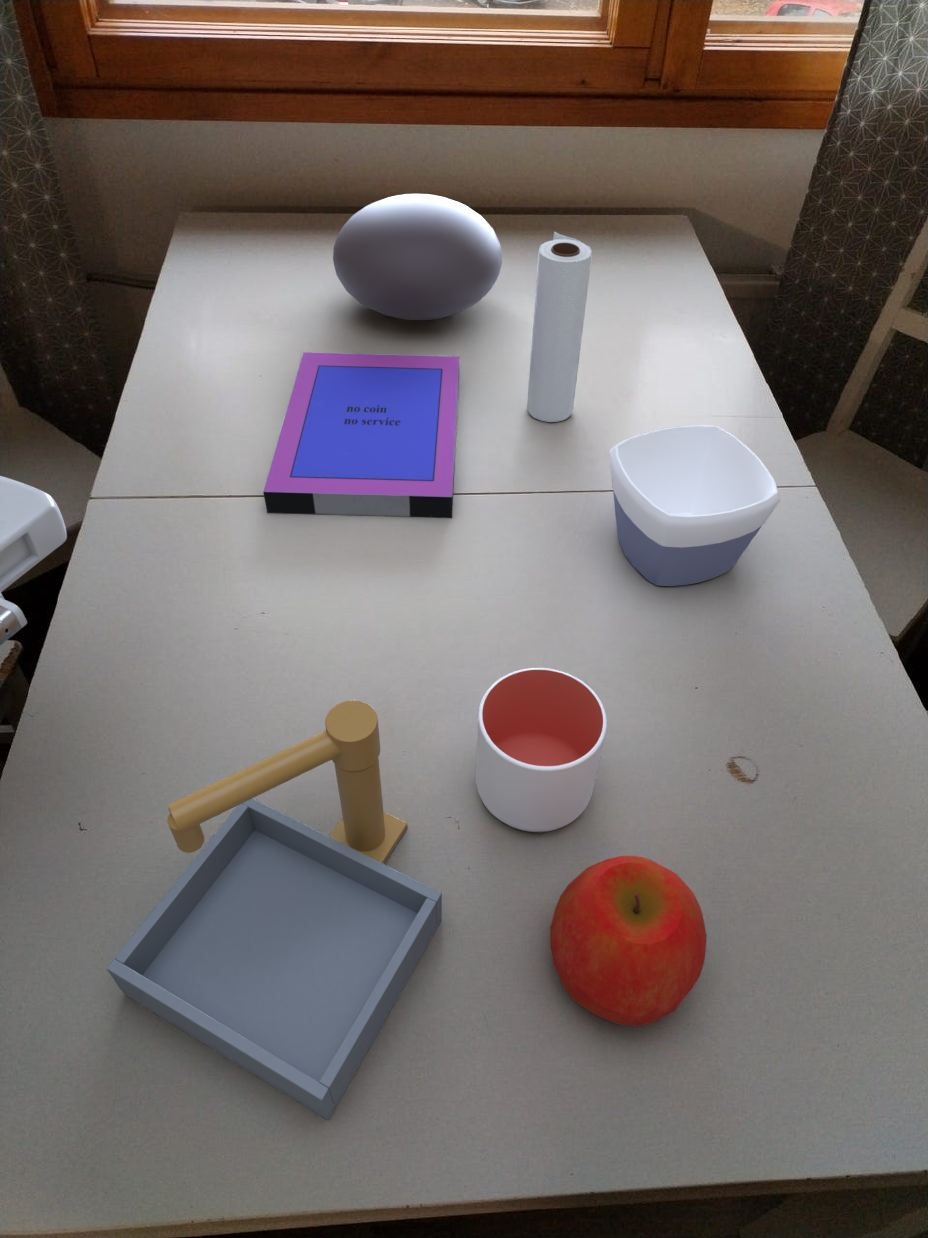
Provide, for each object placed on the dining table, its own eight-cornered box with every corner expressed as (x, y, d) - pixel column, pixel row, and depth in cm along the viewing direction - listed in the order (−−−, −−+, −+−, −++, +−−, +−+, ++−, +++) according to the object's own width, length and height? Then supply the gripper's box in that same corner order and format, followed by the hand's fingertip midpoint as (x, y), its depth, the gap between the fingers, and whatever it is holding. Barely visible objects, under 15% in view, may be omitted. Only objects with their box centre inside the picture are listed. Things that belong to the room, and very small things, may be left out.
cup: (609, 767, 78) (625, 695, 71) (563, 858, 72) (577, 790, 65) (506, 723, 81) (512, 650, 74) (454, 807, 75) (455, 737, 68)
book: (263, 491, 99) (303, 351, 120) (267, 512, 101) (305, 371, 122) (452, 497, 99) (459, 356, 119) (452, 517, 101) (459, 376, 122)
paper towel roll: (562, 428, 113) (581, 264, 98) (519, 416, 115) (530, 253, 100) (582, 400, 118) (603, 239, 102) (540, 389, 120) (554, 228, 104)
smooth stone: (335, 349, 126) (325, 244, 115) (338, 269, 143) (329, 171, 132) (508, 344, 128) (514, 240, 117) (491, 265, 145) (494, 168, 134)
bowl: (701, 495, 105) (722, 413, 97) (772, 581, 95) (803, 499, 87) (581, 520, 101) (593, 438, 93) (642, 613, 91) (661, 530, 83)
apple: (675, 893, 70) (704, 821, 62) (707, 1037, 63) (744, 977, 55) (539, 897, 70) (550, 826, 62) (555, 1043, 62) (570, 983, 54)
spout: (187, 868, 59) (171, 831, 55) (168, 827, 61) (152, 789, 57) (390, 766, 64) (387, 727, 61) (366, 731, 66) (362, 692, 63)
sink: (328, 1121, 59) (321, 1100, 55) (122, 994, 64) (105, 968, 61) (442, 920, 68) (441, 893, 65) (254, 824, 74) (246, 794, 70)
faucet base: (376, 877, 71) (366, 794, 62) (323, 850, 72) (306, 765, 63) (408, 827, 74) (403, 742, 65) (356, 803, 75) (345, 716, 66)
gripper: (-326, 626, 52) (-167, 717, 47) (-40, 443, 64) (106, 502, 60) (-263, 694, 56) (-113, 783, 52) (-8, 511, 69) (130, 570, 64)
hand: (7, 630), depth 56 cm, fingers closed
